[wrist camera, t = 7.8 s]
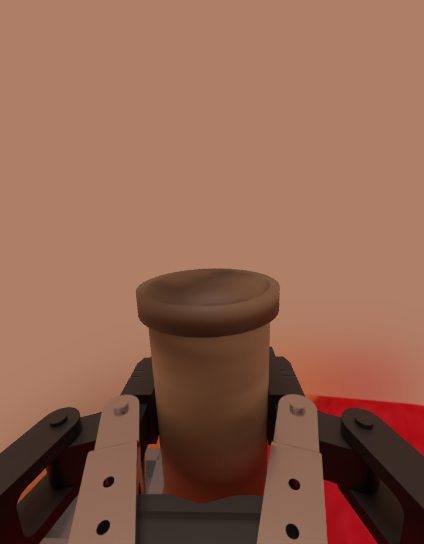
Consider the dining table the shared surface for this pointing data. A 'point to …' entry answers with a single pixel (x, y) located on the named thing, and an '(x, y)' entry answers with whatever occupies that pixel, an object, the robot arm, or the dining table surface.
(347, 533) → the dining table surface
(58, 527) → the grey square tray
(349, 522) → the dining table surface
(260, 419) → the brown capped cylinder
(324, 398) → the dining table surface
